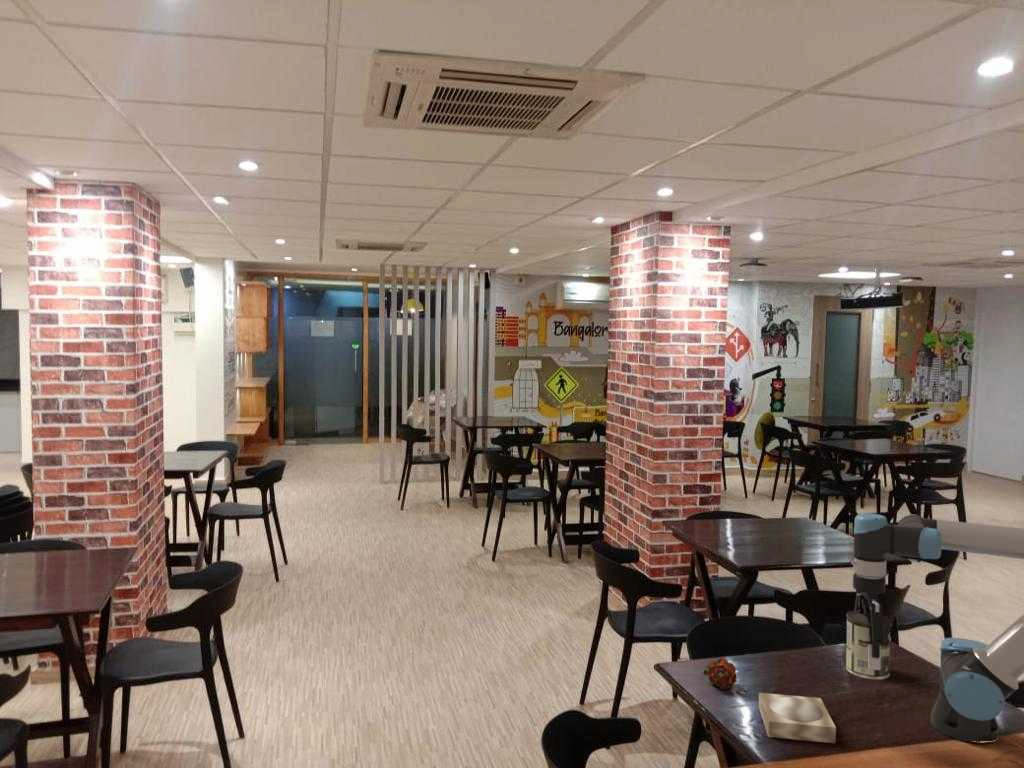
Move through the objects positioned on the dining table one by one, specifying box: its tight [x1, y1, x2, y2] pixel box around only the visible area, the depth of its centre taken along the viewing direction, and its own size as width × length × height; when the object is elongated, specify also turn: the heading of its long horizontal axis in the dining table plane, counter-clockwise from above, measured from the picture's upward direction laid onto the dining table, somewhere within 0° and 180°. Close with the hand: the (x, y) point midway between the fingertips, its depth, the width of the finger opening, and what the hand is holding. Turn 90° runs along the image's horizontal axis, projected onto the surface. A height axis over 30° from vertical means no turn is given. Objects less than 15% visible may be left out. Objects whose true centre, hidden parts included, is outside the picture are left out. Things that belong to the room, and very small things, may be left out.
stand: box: [758, 692, 837, 744], centre depth 193 cm, size 16×16×4 cm
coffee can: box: [845, 610, 892, 680], centre depth 189 cm, size 10×10×14 cm
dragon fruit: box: [702, 657, 738, 690], centre depth 215 cm, size 8×8×12 cm
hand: (867, 660), depth 189 cm, fingers closed on coffee can, 10 cm apart
